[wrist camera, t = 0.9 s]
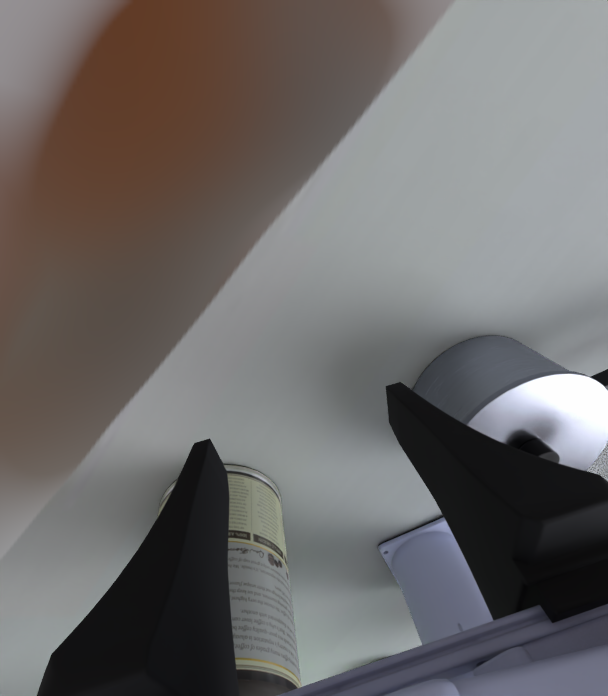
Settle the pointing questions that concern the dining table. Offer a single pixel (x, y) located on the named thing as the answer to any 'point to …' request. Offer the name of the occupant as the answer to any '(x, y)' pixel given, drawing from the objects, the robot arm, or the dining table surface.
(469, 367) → the saucepan
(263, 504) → the coffee can
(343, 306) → the dining table surface
